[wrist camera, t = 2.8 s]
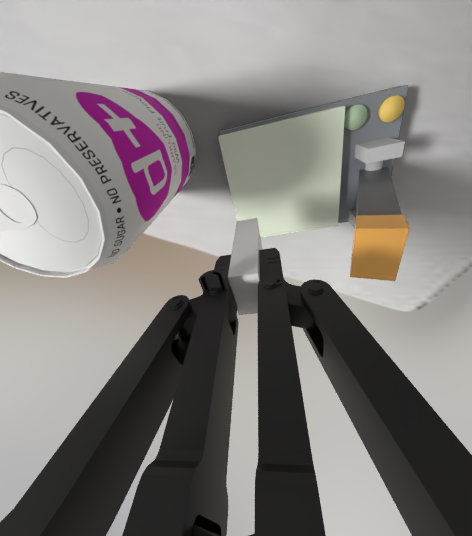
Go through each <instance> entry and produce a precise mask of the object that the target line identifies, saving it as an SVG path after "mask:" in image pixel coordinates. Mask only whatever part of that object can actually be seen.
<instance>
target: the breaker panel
mask: <svg viewBox="0 0 472 536" xmlns="http://www.w3.org/2000/svg"><path fill="white" fill-rule="evenodd" d="M407 90H408V85H405V86H397V87H393V88H389V89H385V90H381V91H377V92H373V93H369V94H365V95H361V96H357V97H353V98H349V99H345V100H341V101H337V102H333V103H329V104H325V105H321V106H317V107H313V108H309V109H305V110H301V111H297V112H293V113H289V114H285V115H281V116H277V117H273V118H269V119H265V120H261V121H257V122H253V123H249V124H245V125H241V126H237V127H233V128H229V129H225V130H221V131H220V132H219V135H220V136H219V137H218V139H219V144H220V148H221V152H222V157H223V161H224V166H225V170H226V175H227V179H228V183H229V188H230V192H231V197H232V201H233V206H234V210H235V214H236V219H237V221H241V220H247V219H253V218H257V219H258V225H259V231H260V237H267V236H274V235H280V234H287V233H293V232H300V231H306V230H313V229H319V228H326V227H332V226H338V223H341V222H348V221H349V222H350V223H351V224H352V225H353V226H354V228H355V210H356V198H357V188H358V179H359V170H362V169H365V165H366V164H368V163H373V162H378V161H383V165H382V167H388V169H389V172H390V176H391V175H392V169H393V164H394V159H395V158H398V157H402V154H403V149H404V144H405V141H401V140H398V137H399V132H400V127H401V122H402V116H403V111H404V106H405V100H406V95H407Z"/></svg>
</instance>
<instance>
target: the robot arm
mask: <svg viewBox="0 0 472 536" xmlns="http://www.w3.org/2000/svg"><path fill="white" fill-rule="evenodd" d="M199 282H200V284H201V287H202V289H203V295H201V296H199V297H197V298H194V299H191V300H189V299H188V298H187V296H183V295H179V296H176V297H173V298H172V299H170V300H169V301H168V302H167V303H166V304H165V305H164V307H163V308H162V309H161V310H160V312H159V313H158V315H157V316H156V317H155V319H154V320H153V321H152V323H151V324H150V325H149V327H148V328H147V329H146V331H145V332H144V334H143V335H142V336H141V338H140V339H139V341H138V342H137V343H136V344H135V346H134V347H133V348H132V350H131V351H130V352H129V354H128V355H127V356H126V358H125V359H124V361H123V362H122V363H121V365H120V366H119V367H118V369H117V370H116V371H115V373H114V374H113V375H112V377H111V378H110V379H109V381H108V382H107V383H106V385H105V386H104V388H103V389H102V390H101V392H100V393H99V394H98V396H97V397H96V398H95V400H94V401H93V402H92V404H91V405H90V406H89V408H88V409H87V410H86V412H85V413H84V415H83V416H82V417H81V419H80V420H79V421H78V423H77V424H76V425H75V427H74V428H73V430H72V431H71V432H70V433H69V435H68V436H67V438H66V439H65V440H64V442H63V443H62V444H61V446H60V447H59V449H58V450H57V451H56V452H55V454H54V455H53V456H52V458H51V459H50V460H49V462H48V463H47V465H46V466H45V467H44V469H43V470H42V471H41V473H40V474H39V475H38V477H37V478H36V479H35V481H34V482H33V484H32V485H31V486H30V488H29V489H28V490H27V492H26V493H25V494H24V496H23V497H22V498H21V500H20V501H19V502H18V504H17V505H16V506H15V508H14V509H13V510H12V511H11V512H10V513H9V514H8V515H7V516H6V517H5V518H4V519H3V520H2V521H1V522H0V536H106V534H107V532H108V530H109V528H110V527H111V525H112V523H113V521H114V519H115V516H116V515H117V513H118V511H119V509H120V507H121V504H122V503H123V501H124V499H125V497H126V495H127V493H128V491H129V488H130V486H131V484H132V482H133V480H134V478H135V476H136V474H137V472H138V470H139V468H140V466H141V464H142V462H143V460H144V458H145V456H146V454H147V452H148V450H149V448H150V446H151V443H152V441H153V439H154V437H155V435H156V433H157V431H158V429H159V427H160V425H161V423H162V421H163V419H164V417H165V415H166V413H167V411H168V409H169V407H170V405H171V402H172V400H173V403H172V407H171V410H170V413H169V417H168V421H167V424H166V428H165V432H164V435H163V439H162V442H161V446H160V449H159V452H158V455H157V457H156V459H155V460H154V461H153V462H152V463H151V464H149V465H148V466H147V468H146V469H145V471H144V472H143V474H142V476H141V479H140V482H139V484H138V487H137V490H136V493H135V497H134V500H133V503H132V507H131V510H130V513H129V516H128V520H127V522H126V526H125V529H124V532H123V535H122V536H226V532H227V519H228V518H227V517H228V495H227V488H226V475H227V462H228V450H229V449H228V448H229V437H230V424H231V410H232V398H233V397H232V396H233V385H234V372H235V359H236V346H237V333H238V319H237V310H238V314H239V315H243V314H253V313H258V437H259V438H258V439H259V444H258V447H259V454H258V455H259V456H258V457H259V458H258V465H257V470H256V478H255V534H253V535H249V536H325V530H324V524H323V518H322V511H321V505H320V499H319V493H318V487H317V481H316V475H315V470H314V466H313V460H312V454H311V449H310V442H309V435H308V429H307V422H306V416H305V410H304V403H303V397H302V391H301V384H300V378H299V372H298V365H297V359H296V353H295V347H294V340H293V334H292V327H291V326H296V327H301V328H303V330H304V332H305V334H306V336H307V338H308V339H309V341H310V343H311V345H312V347H313V349H314V351H315V353H316V355H317V357H318V358H319V360H320V362H321V364H322V366H323V368H324V370H325V372H326V374H327V375H328V377H329V379H330V381H331V383H332V385H333V387H334V389H335V391H336V393H337V394H338V396H339V398H340V400H341V402H342V404H343V406H344V408H345V410H346V411H347V413H348V415H349V417H350V419H351V421H352V422H353V425H354V427H355V428H356V430H357V432H358V434H359V436H360V438H361V440H362V441H363V443H364V445H365V447H366V449H367V451H368V453H369V455H370V457H371V459H372V460H373V462H374V464H375V466H376V468H377V470H378V472H379V474H380V476H381V478H382V479H383V481H384V483H385V485H386V487H387V489H388V491H389V493H390V495H391V496H392V498H393V500H394V502H395V504H396V506H397V508H398V510H399V512H400V514H401V515H402V517H403V519H404V521H405V523H406V525H407V526H408V529H409V530H410V533H411V534H412V536H472V455H471V454H470V453H469V452H468V450H467V449H466V448H465V447H464V446H463V444H462V443H461V442H460V441H459V440H458V438H457V437H456V436H455V435H454V434H453V432H452V431H451V430H450V429H449V428H448V426H446V424H445V423H444V422H443V421H442V419H441V418H440V417H439V416H438V415H437V413H436V412H435V411H434V410H433V408H432V407H431V406H430V405H429V404H428V402H427V401H426V400H425V399H424V398H423V396H422V395H421V394H420V393H419V392H418V391H417V389H416V388H415V387H414V386H413V385H412V383H411V382H410V381H409V380H408V379H407V377H406V376H405V375H404V374H403V373H402V371H401V370H400V369H399V368H398V366H397V365H396V364H395V363H394V362H393V361H392V359H391V358H390V357H389V356H388V355H387V353H386V352H385V351H384V350H383V349H382V347H381V346H380V345H379V344H378V343H377V342H376V340H375V339H374V338H373V337H372V335H371V334H370V333H369V332H368V331H367V329H366V328H365V327H364V326H363V325H362V323H361V322H360V321H359V320H358V319H357V317H356V316H355V315H354V314H353V313H352V311H351V310H350V309H349V308H348V307H347V305H346V304H345V303H344V302H343V301H342V299H341V298H340V297H339V296H338V295H337V293H336V292H335V291H334V290H333V289H332V287H331V286H330V285H329V284H328V283H326V282H324V281H321V280H309V281H307V282H304V283H303V284H302V285H301V286H295V285H291V284H288V283H287V282H286V281H285V280H284V278H283V273H282V266H281V260H280V254H279V251H278V250H277V249H276V248H271V249H264V250H263V249H262V243H261V237H260V231H259V225H258V219H257V218H253V219H247V220H241V221H237V224H236V230H235V236H234V242H233V248H232V254H231V255H226V256H220V257H219V259H218V260H217V261H216V264H215V269H214V270H212V271H208V272H206V273H204V274H203V275H202V276H201V277H200V278H199ZM173 398H174V399H173Z"/></svg>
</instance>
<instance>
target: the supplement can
mask: <svg viewBox="0 0 472 536" xmlns="http://www.w3.org/2000/svg"><path fill="white" fill-rule="evenodd" d="M195 158H196V148H195V143H194V139H193V135H192V131H191V129H190V128H189V126H188V124H187V122H186V120H185V119H184V117H183V115H182V114H181V113H180V112H179V111H178V110H177V109H176V108H175V107H174V106H173V105H172V104H171V103H170V102H169V101H168V100H167V99H165V98H163V97H161V96H158V95H156V94H154V93H152V92H150V91H144V90H136V89H128V88H121V87H113V86H105V85H97V84H89V83H82V82H74V81H66V80H58V79H50V78H43V77H35V76H27V75H19V74H11V73H4V72H0V261H1V262H3V263H5V264H7V265H10V266H11V267H14V268H16V269H19V270H23V271H26V272H30V273H33V274H36V275H39V276H47V277H64V278H67V277H70V276H74V275H77V274H81V273H85V272H87V271H88V270H90V269H94V268H97V267H101V266H105V265H108V264H112V263H114V262H115V261H116V260H117V259H118V258H119V257H120V256H121V255H123V254H124V253H125V252H126V251H127V250H128V249H129V248H130V247H131V246H132V245H133V243H135V241H136V240H137V239H138V238H139V237H140V236H141V235H142V233H143V232H144V231H145V230H146V229H147V228H148V226H149V225H150V224H151V223H152V222H153V221H154V220H155V218H156V217H157V216H158V215H159V214H160V213H161V212H162V210H163V209H164V208H165V207H166V206H167V205H168V204H169V202H170V201H171V200H172V199H173V198H174V197H175V195H176V194H177V193H178V192H179V191H180V190H181V189H182V187H183V186H184V185H185V184H186V183H187V182H188V181H189V179H190V176H191V174H192V172H193V170H194V168H195Z"/></svg>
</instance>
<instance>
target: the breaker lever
mask: <svg viewBox="0 0 472 536" xmlns="http://www.w3.org/2000/svg"><path fill="white" fill-rule="evenodd" d="M382 165H383V161H378V162H373V163H368V164H366V165H365V169H362V170H359V179H358V188H357V198H356V210H355V230H354V240H353V249H352V258H351V270H350V277H357V278H368V279H379V280H390V281H395V280H396V276H397V272H398V269H399V265H400V261H401V257H402V254H403V250H404V246H405V243H406V239H407V235H408V232H409V226H408V223H407V220H406V216H405V215H402V214H401V211H400V207H399V204H398V200H397V197H396V193H395V190H394V186H393V183H392V179H391V176H390V172H389V169H388V167H382Z"/></svg>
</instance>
